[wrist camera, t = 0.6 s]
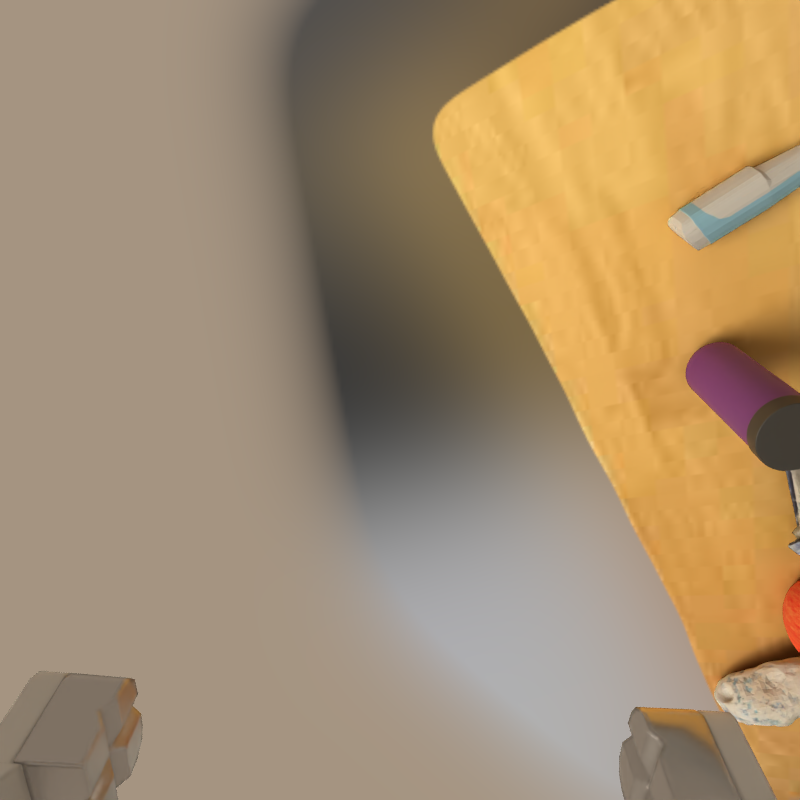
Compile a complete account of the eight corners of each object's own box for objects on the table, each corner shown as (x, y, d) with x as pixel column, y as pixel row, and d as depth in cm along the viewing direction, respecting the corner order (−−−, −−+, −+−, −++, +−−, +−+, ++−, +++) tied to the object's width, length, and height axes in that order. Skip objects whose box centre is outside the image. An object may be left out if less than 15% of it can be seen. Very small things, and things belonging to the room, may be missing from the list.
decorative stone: (715, 676, 65) (742, 732, 63) (703, 682, 59) (732, 744, 57) (861, 630, 60) (896, 689, 57) (862, 632, 54) (900, 698, 52)
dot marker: (687, 333, 49) (768, 399, 38) (747, 338, 49) (845, 406, 38) (672, 389, 51) (746, 468, 40) (730, 394, 51) (820, 474, 40)
